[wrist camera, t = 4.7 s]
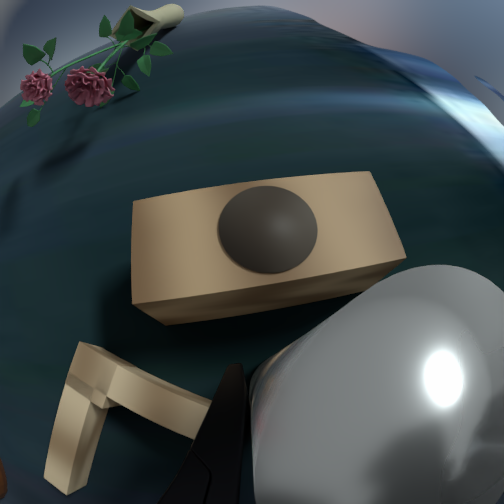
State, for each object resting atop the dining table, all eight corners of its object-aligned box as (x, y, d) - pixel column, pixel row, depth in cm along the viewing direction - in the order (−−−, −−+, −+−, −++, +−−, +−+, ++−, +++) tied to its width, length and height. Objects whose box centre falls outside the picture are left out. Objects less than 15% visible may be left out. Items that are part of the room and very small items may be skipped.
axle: (282, 437, 12) (388, 600, 1) (233, 385, 14) (158, 453, 2) (337, 389, 14) (555, 390, 2) (290, 338, 15) (433, 202, 3)
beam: (343, 219, 18) (370, 170, 13) (366, 290, 16) (407, 256, 11) (160, 246, 17) (132, 200, 12) (165, 325, 15) (131, 303, 10)
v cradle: (268, 435, 12) (272, 446, 10) (73, 485, 10) (53, 495, 8) (203, 303, 15) (195, 291, 13) (29, 374, 13) (5, 371, 11)
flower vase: (192, 62, 40) (131, 176, 19) (128, 54, 37) (9, 163, 16) (209, 4, 31) (151, 18, 10) (140, -3, 28) (-5, 34, 7)
